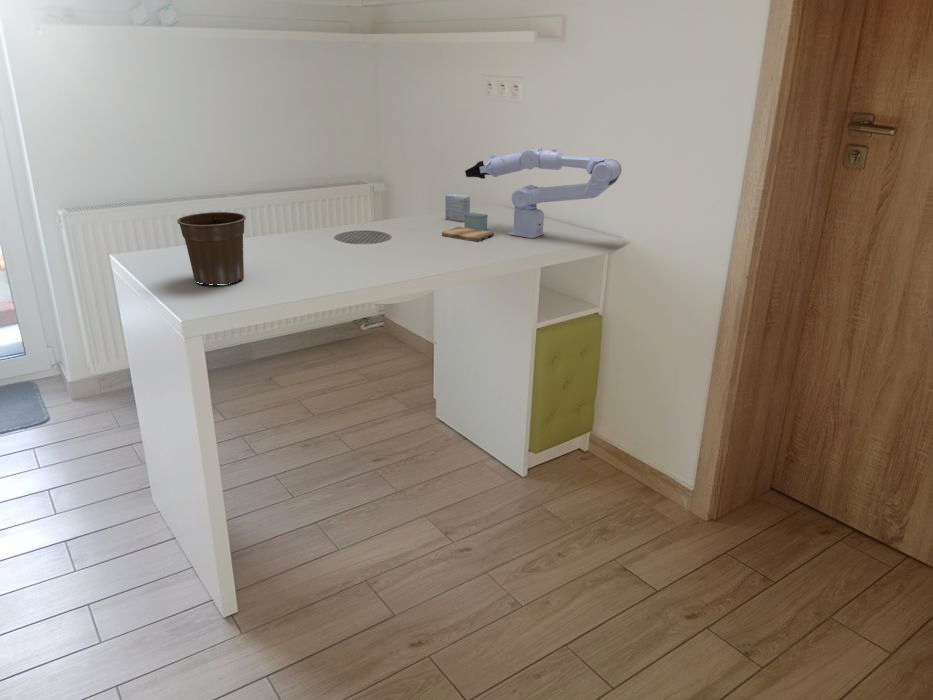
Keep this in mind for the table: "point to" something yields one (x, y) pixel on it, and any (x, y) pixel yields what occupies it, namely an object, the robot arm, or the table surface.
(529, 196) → the robot arm
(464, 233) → the thin wooden board
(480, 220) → the pale teal rectangular block
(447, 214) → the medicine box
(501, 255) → the table surface
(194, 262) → the plant pot
